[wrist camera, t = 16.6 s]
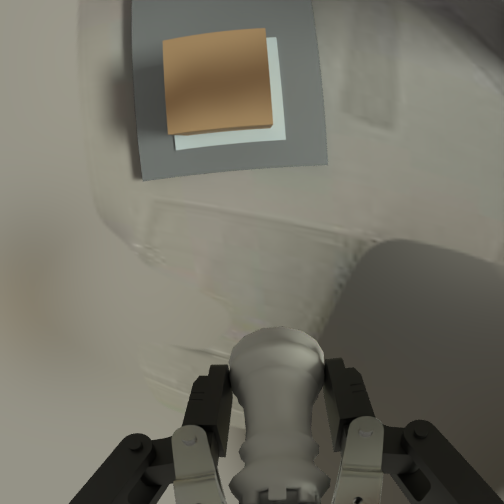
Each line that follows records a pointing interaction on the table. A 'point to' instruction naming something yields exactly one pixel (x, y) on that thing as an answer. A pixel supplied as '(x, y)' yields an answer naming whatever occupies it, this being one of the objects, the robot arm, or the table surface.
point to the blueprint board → (281, 83)
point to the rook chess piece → (278, 416)
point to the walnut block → (217, 82)
